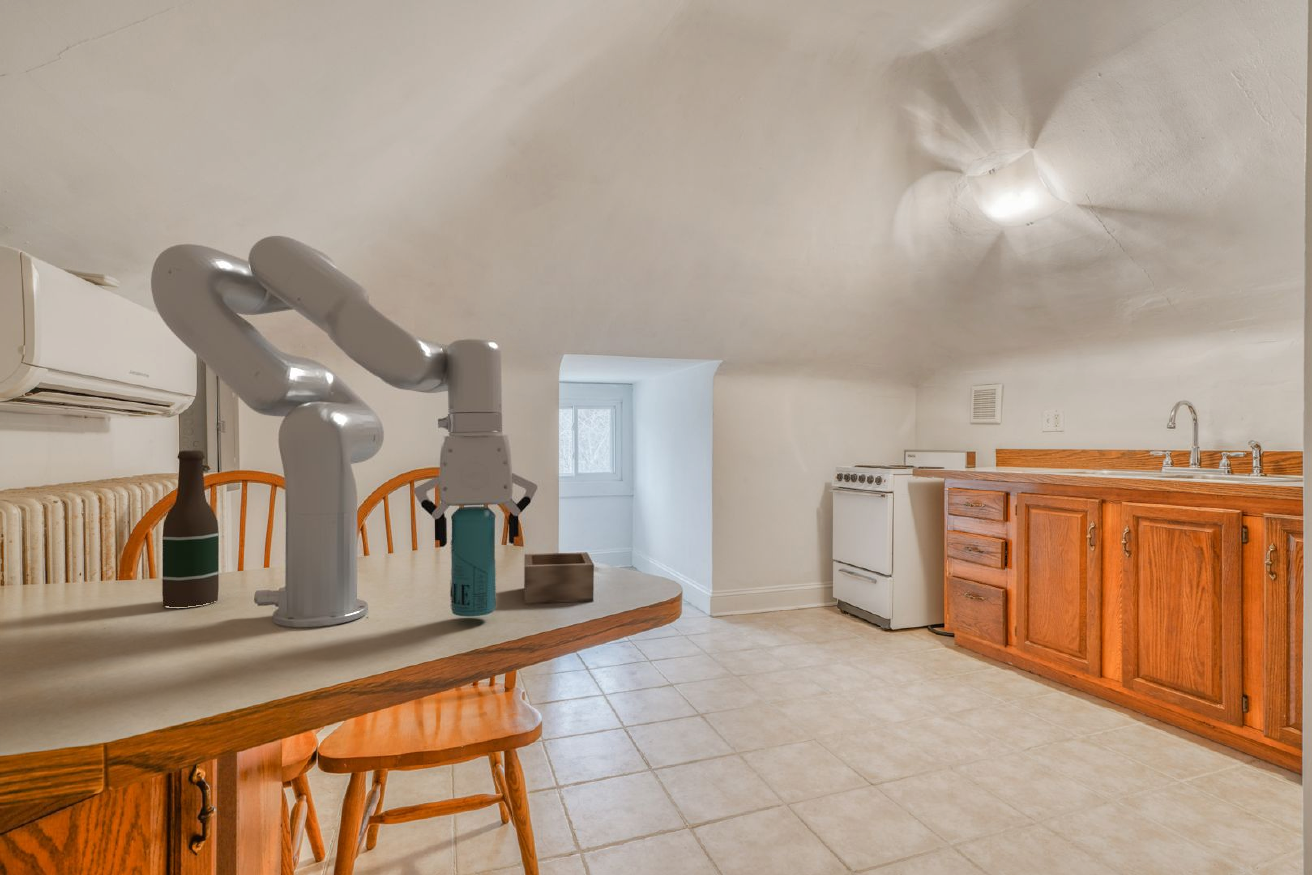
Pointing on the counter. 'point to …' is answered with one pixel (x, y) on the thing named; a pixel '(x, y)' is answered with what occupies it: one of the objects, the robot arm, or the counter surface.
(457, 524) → the beverage bottle
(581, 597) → the holder
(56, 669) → the counter surface
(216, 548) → the beer bottle
